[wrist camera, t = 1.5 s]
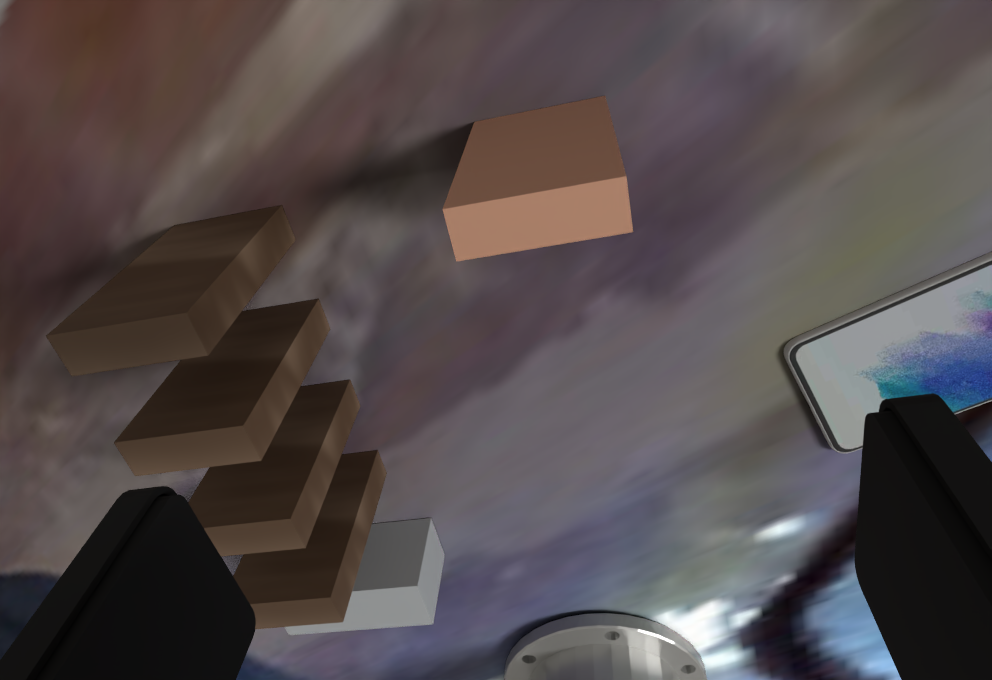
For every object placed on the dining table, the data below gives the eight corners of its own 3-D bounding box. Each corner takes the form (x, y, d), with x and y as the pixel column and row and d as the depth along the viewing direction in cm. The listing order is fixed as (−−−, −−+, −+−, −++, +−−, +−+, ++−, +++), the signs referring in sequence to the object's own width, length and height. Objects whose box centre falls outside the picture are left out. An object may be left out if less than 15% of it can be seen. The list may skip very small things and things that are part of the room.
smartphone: (780, 348, 31) (1178, 176, 26) (774, 338, 31) (1161, 169, 26) (836, 460, 34) (1205, 325, 29) (830, 449, 34) (1189, 315, 29)
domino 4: (386, 473, 37) (343, 622, 29) (298, 483, 38) (233, 630, 30) (377, 450, 36) (330, 597, 28) (287, 461, 37) (218, 606, 29)
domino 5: (610, 138, 27) (633, 232, 19) (483, 162, 28) (456, 261, 20) (605, 95, 26) (626, 176, 18) (474, 121, 27) (442, 209, 19)
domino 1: (295, 239, 30) (208, 355, 22) (190, 258, 31) (71, 376, 23) (281, 205, 29) (186, 312, 22) (174, 225, 30) (45, 335, 22)
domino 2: (330, 328, 32) (261, 460, 25) (231, 344, 33) (135, 476, 26) (318, 298, 31) (243, 425, 24) (217, 315, 32) (113, 442, 25)
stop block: (444, 555, 40) (433, 624, 36) (313, 567, 41) (289, 635, 37) (431, 517, 38) (417, 585, 34) (295, 531, 40) (268, 598, 36)
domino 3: (360, 405, 35) (305, 548, 27) (266, 418, 35) (188, 559, 28) (349, 379, 34) (290, 518, 26) (254, 393, 35) (170, 531, 27)
